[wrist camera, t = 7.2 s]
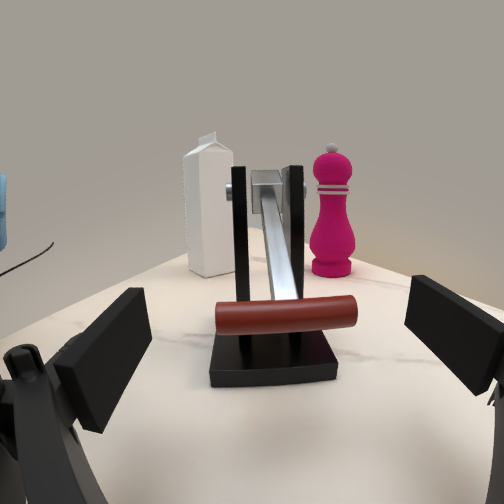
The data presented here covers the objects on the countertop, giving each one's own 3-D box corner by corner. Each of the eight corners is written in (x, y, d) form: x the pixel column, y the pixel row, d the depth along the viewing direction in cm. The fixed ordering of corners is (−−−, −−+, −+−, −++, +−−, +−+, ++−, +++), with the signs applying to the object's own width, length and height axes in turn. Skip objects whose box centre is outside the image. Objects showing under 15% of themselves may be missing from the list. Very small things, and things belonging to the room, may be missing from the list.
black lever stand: (336, 379, 19) (349, 162, 15) (211, 387, 19) (191, 163, 15) (305, 312, 30) (306, 171, 27) (221, 316, 30) (214, 173, 27)
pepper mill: (310, 264, 49) (309, 146, 44) (352, 266, 47) (353, 146, 42) (307, 277, 42) (306, 139, 37) (355, 279, 40) (357, 139, 36)
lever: (350, 339, 12) (363, 304, 11) (219, 347, 12) (213, 313, 11) (300, 195, 23) (302, 169, 22) (227, 197, 23) (226, 170, 22)
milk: (205, 278, 43) (197, 130, 38) (188, 270, 48) (181, 137, 43) (238, 270, 47) (232, 132, 41) (219, 263, 51) (213, 138, 46)
